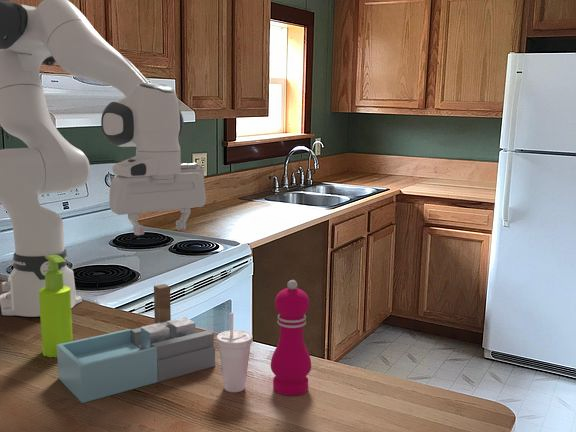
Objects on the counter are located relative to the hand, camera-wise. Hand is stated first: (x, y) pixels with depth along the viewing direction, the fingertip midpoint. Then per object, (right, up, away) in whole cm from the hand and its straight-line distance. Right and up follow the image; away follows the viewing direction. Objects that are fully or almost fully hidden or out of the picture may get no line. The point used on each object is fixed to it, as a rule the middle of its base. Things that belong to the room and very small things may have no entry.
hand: (160, 232), depth 130 cm
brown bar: (0, -23, +4) cm, 24 cm away
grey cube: (+6, -21, -7) cm, 23 cm away
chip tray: (-6, -27, -15) cm, 31 cm away
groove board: (+4, -25, -7) cm, 27 cm away
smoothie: (+17, -28, -17) cm, 37 cm away
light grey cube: (+1, -22, -10) cm, 24 cm away
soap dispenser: (-20, -24, -3) cm, 32 cm away
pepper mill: (+27, -28, -17) cm, 42 cm away
